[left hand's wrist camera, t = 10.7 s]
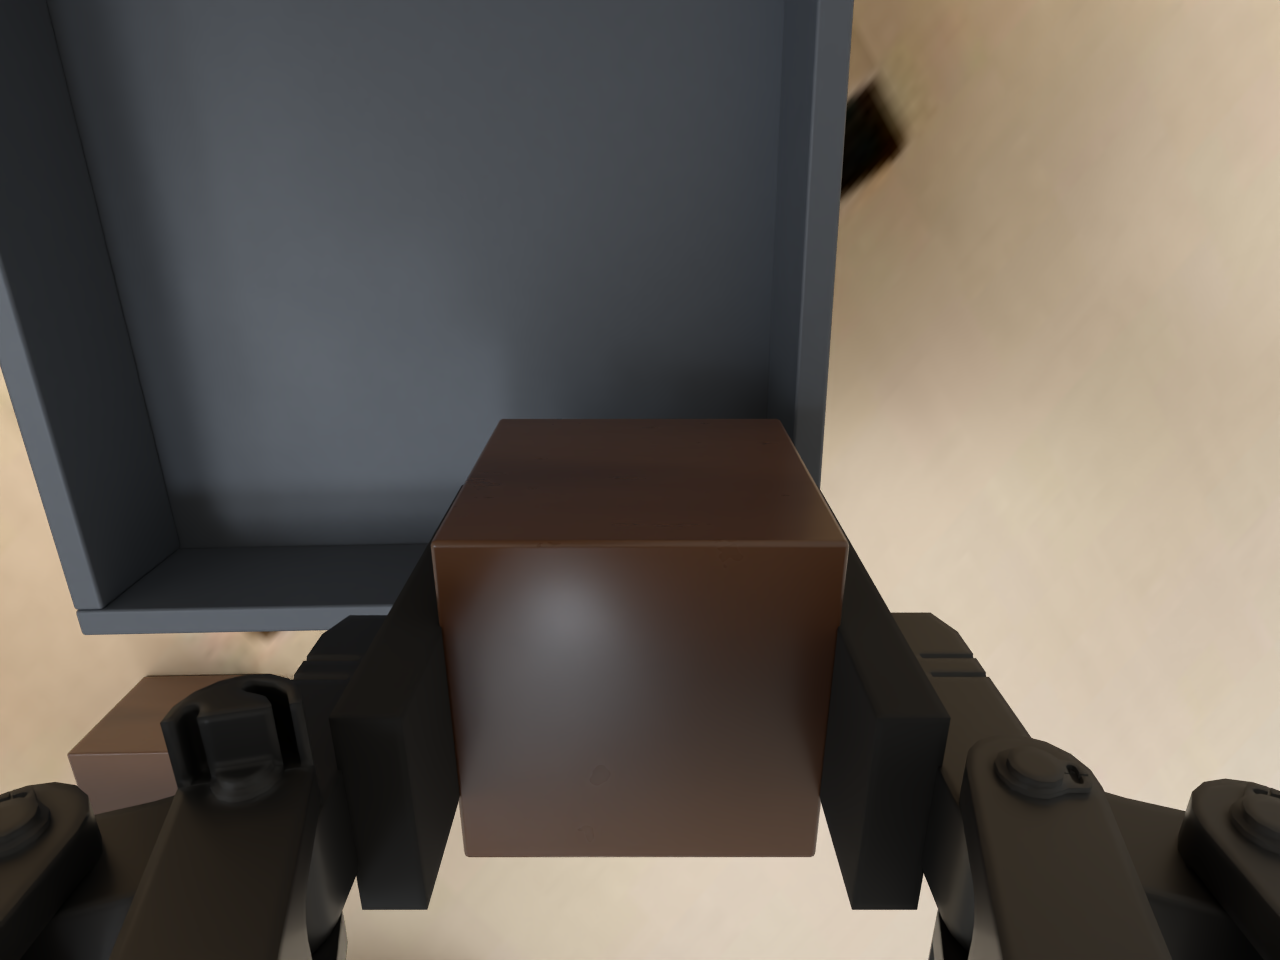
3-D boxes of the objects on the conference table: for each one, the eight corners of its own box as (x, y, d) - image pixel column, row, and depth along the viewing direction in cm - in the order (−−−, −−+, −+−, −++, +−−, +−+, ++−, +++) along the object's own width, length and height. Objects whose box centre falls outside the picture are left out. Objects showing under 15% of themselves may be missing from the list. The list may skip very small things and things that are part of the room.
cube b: (280, 766, 36) (226, 854, 31) (170, 768, 36) (100, 856, 31) (259, 673, 34) (200, 751, 29) (144, 676, 34) (65, 754, 29)
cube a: (764, 655, 16) (816, 859, 11) (515, 655, 16) (463, 859, 11) (780, 417, 14) (851, 541, 9) (499, 417, 14) (428, 541, 9)
